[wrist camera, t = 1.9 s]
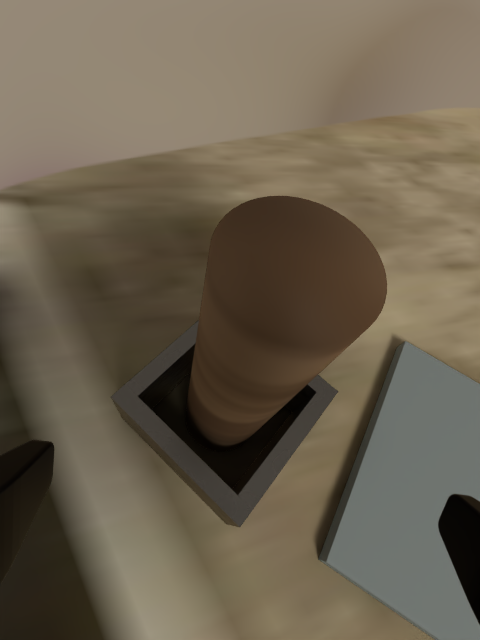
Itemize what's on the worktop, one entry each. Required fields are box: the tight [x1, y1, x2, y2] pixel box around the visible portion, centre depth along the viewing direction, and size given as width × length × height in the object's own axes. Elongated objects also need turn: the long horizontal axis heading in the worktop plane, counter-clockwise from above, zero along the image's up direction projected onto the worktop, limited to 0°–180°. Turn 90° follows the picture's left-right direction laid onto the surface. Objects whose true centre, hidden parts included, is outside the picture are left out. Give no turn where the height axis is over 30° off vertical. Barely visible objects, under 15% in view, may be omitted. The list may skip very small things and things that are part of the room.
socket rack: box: [111, 320, 338, 527], centre depth 18 cm, size 8×8×4 cm
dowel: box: [185, 196, 387, 452], centre depth 14 cm, size 4×4×14 cm
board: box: [319, 341, 480, 640], centre depth 19 cm, size 14×12×1 cm
